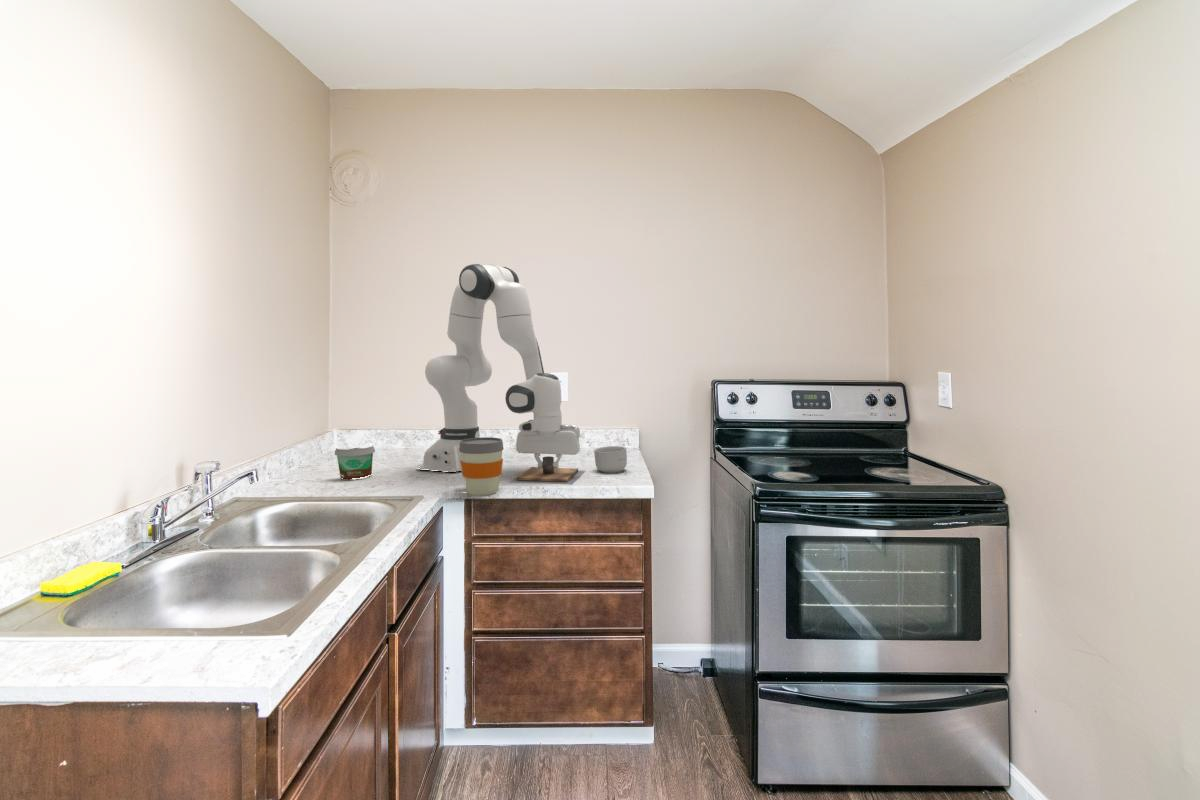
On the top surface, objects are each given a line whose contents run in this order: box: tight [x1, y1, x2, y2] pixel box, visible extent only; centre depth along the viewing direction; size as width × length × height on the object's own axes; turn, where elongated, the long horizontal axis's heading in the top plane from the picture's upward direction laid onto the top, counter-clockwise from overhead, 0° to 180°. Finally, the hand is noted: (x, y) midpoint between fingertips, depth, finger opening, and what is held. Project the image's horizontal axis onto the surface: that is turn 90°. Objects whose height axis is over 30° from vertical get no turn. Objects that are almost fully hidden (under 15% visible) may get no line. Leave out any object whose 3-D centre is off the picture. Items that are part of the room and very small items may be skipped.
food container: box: [334, 445, 376, 480], centre depth 198 cm, size 12×6×10 cm, turn 118°
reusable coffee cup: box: [459, 436, 504, 497], centre depth 178 cm, size 13×12×15 cm
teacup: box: [593, 445, 628, 474], centre depth 206 cm, size 14×11×8 cm
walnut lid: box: [515, 455, 579, 482], centre depth 197 cm, size 16×16×6 cm
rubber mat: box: [508, 469, 587, 486], centre depth 197 cm, size 20×20×1 cm
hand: (548, 467), depth 197 cm, fingers closed on walnut lid, 3 cm apart
